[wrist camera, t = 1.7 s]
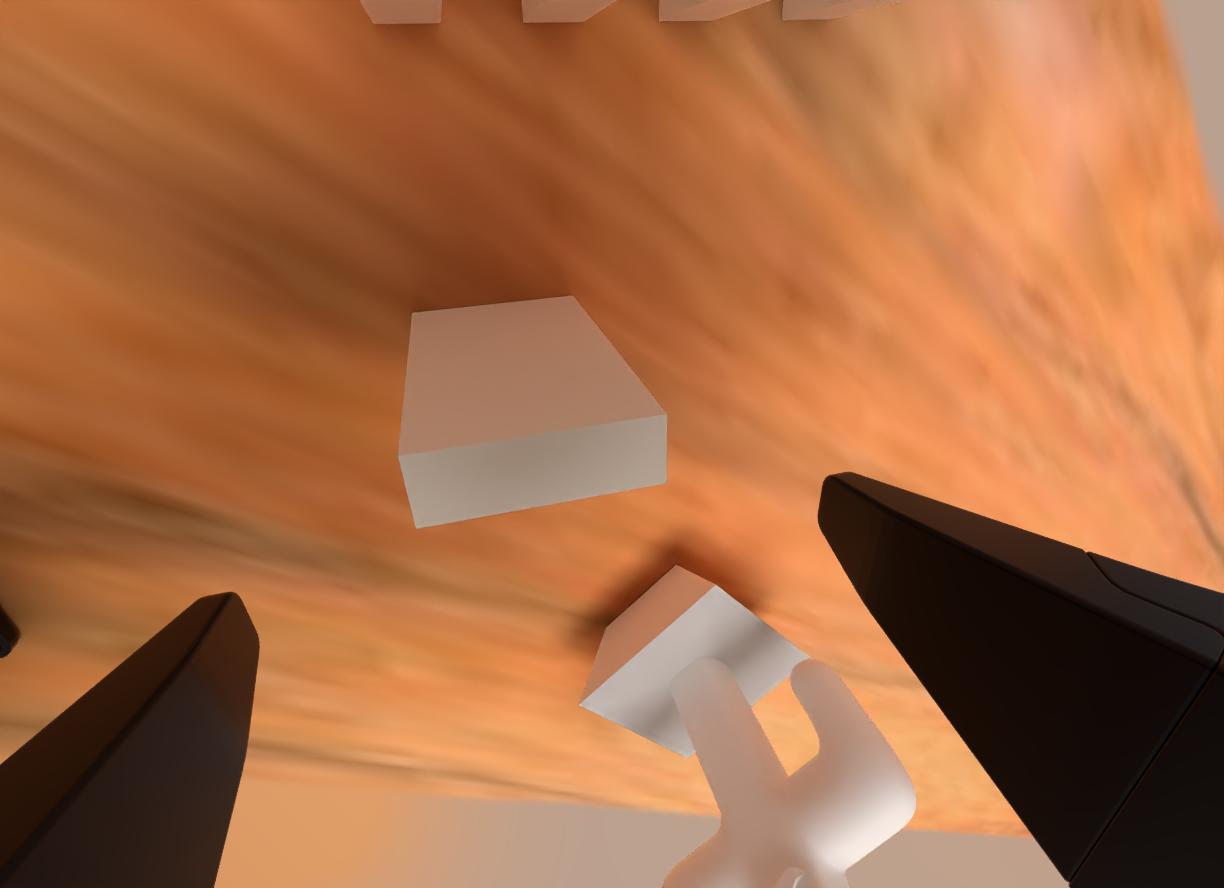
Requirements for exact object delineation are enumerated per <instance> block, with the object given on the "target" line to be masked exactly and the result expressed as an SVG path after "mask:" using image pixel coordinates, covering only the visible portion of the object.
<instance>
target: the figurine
mask: <svg viewBox="0 0 1224 888" xmlns="http://www.w3.org/2000/svg"><path fill="white" fill-rule="evenodd" d="M788 676H790V682H791V686H792V689H793V691H794V693H795V695H796V697H797V698H798V700H799V701H800V703H801V705H802V706H803V708H804V709H805V711H806V713H807V714H808V716H809V718H810V720H811V721H812V723H813V725H814V727H815V730H816V732H817V735H818V738H819V744H820V748H819V752H818V754H817V755H816V756H815V757H814V758H813V759H811V760H810V761H809V762H808V763H806V764H805V765H804V766H803V767H801V768H800V769H799V770H797V771H796V772H795V773H794V774H792V775H791V776H790V777H788V775H787V773H786V771H785V769H784V767H783V766H782V764H781V762H780V760H779V758H778V756H777V755H776V753H775V751H774V749H773V747H772V745H771V744H770V742H769V740H768V738H767V736H766V734H765V732H764V731H763V729H762V727H761V725H760V723H759V721H758V720H757V718H756V716H755V714H754V712H753V710H752V708H751V707H752V706H753V705H754V704H755V703H757V702H758V701H759V700H760V699H761V698H763V697H764V696H765V695H766V694H768V693H769V692H770V691H771V690H772V689H774V688H775V687H776V686H777V685H779V684H780V683H781V682H782V681H783V680H785V679H786V678H787V677H788ZM579 706H581V707H583V708H585V709H587V710H590V711H592V712H594V713H596V714H598V715H600V716H602V717H604V718H606V719H608V720H610V721H612V722H614V723H616V724H618V725H620V726H622V727H624V728H626V729H629V730H631V731H633V732H635V733H637V734H639V735H641V736H643V737H645V738H647V739H649V740H651V741H653V742H655V743H657V744H659V745H661V746H663V747H665V748H668V749H670V750H672V751H674V752H676V753H678V754H680V755H682V756H684V757H686V758H689V757H691V756H692V755H693V754H694V753H695V752H696V754H697V756H698V759H699V761H700V764H701V766H702V768H703V771H704V773H705V776H706V778H707V780H708V783H709V785H710V788H711V790H712V792H713V795H714V797H715V800H716V802H717V804H718V807H719V809H720V812H721V826H720V828H719V830H718V832H717V833H716V834H715V835H714V836H713V837H712V838H711V839H709V840H708V841H707V842H706V843H704V844H703V845H702V846H700V847H699V848H698V849H696V850H695V851H694V852H693V853H691V854H690V855H689V856H687V857H686V858H685V859H684V860H682V861H681V862H680V863H679V864H678V865H676V866H675V868H673V869H672V871H670V873H669V874H668V875H667V877H666V879H665V881H664V884H663V887H662V888H849V885H848V882H847V879H846V873H845V870H846V869H848V868H849V867H850V866H852V865H853V864H854V863H856V862H857V861H859V860H860V859H861V858H863V857H864V856H865V855H867V854H868V853H869V852H871V851H872V850H874V849H875V848H876V847H878V846H879V845H880V844H882V843H883V842H884V841H886V840H887V839H888V838H890V837H891V836H893V835H894V834H895V833H897V832H898V831H899V830H901V829H902V828H903V827H904V826H905V825H906V824H907V823H908V822H909V821H910V820H911V818H912V816H913V814H914V812H915V809H916V794H915V790H914V787H913V784H912V782H911V779H910V777H909V775H908V773H907V771H906V770H905V768H904V766H903V765H902V763H901V761H900V760H899V758H898V757H897V755H896V753H895V752H894V750H893V749H892V748H891V746H890V745H889V743H888V742H887V740H886V739H885V737H884V736H883V735H882V733H881V732H880V731H879V729H878V728H877V726H876V725H875V724H874V722H873V721H872V720H871V718H870V717H869V715H868V714H867V713H866V711H865V710H864V709H863V707H862V706H861V705H860V703H859V702H858V700H857V699H856V698H855V696H854V695H853V694H852V692H851V691H850V690H849V688H848V687H847V685H846V684H845V683H844V681H843V680H842V679H841V677H840V676H839V675H838V674H837V672H836V671H835V670H834V669H833V668H832V667H831V666H829V665H828V664H826V663H825V662H823V661H820V660H816V659H810V657H809V656H807V655H806V654H805V653H804V652H802V651H801V650H800V649H798V648H797V647H796V646H795V645H793V644H792V643H791V642H789V641H788V640H787V639H786V638H784V637H783V636H782V635H780V634H779V633H778V632H777V631H775V630H774V629H773V628H771V627H770V626H769V625H767V624H766V623H765V622H764V621H762V620H761V619H760V618H758V617H757V616H756V615H755V614H753V613H752V612H751V611H749V610H748V609H747V608H746V607H744V606H743V605H742V604H740V603H739V602H738V601H736V600H735V599H734V598H733V597H731V596H730V595H729V594H727V593H726V592H725V591H724V590H722V589H721V588H720V587H718V586H717V585H716V584H714V583H712V582H710V581H708V580H706V579H704V578H702V577H700V576H698V575H696V574H694V573H692V572H690V571H688V570H686V569H684V568H682V567H680V566H678V565H675V566H674V567H673V568H672V569H671V570H670V571H669V572H667V573H666V574H665V575H664V576H663V577H662V578H661V579H660V580H658V581H657V582H656V583H655V584H654V585H653V586H652V587H651V588H650V589H648V590H647V591H646V592H645V593H644V594H643V595H642V596H641V597H639V598H638V599H637V600H636V601H635V602H634V603H633V604H632V605H631V606H629V607H628V608H627V609H626V610H625V611H624V612H623V613H622V614H620V615H619V616H618V617H617V618H616V619H615V620H614V621H613V622H612V623H610V624H609V625H608V626H607V627H606V629H605V632H604V635H603V637H602V640H601V643H600V646H599V649H598V652H597V654H596V657H595V660H594V663H593V666H592V668H591V671H590V674H589V677H588V680H587V683H586V685H585V688H584V691H583V694H582V697H581V700H580V702H579Z"/></svg>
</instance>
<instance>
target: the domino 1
mask: <svg viewBox="0 0 1224 888" xmlns="http://www.w3.org/2000/svg"><path fill="white" fill-rule="evenodd" d="M615 1H617V0H521V2H522V13H523V23H539V22H584V21H586V20H587V19H589V18H591V17H592V16H594V15H595V14H597V13H598V12H600V11H601V10H603V9H605V8H606V7H608V6H609V5H611V4H612V3H614V2H615Z"/></svg>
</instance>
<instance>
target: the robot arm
mask: <svg viewBox="0 0 1224 888" xmlns="http://www.w3.org/2000/svg"><path fill="white" fill-rule="evenodd" d="M818 523H819V527H820V529H821V531H822V533H823V535H824V536H825V538H826V540H827V542H828V543H829V545H830V547H831V549H832V550H833V552H834V554H835V555H836V557H837V559H838V561H839V562H840V564H841V566H842V567H843V569H844V571H845V573H846V574H847V576H848V578H849V580H850V581H851V583H852V585H853V586H854V588H855V590H856V592H857V593H858V595H859V596H860V598H861V599H862V601H863V603H864V604H865V606H866V607H867V609H868V610H869V611H870V613H871V614H872V616H873V617H874V619H875V620H876V621H877V623H878V624H879V625H880V627H881V628H882V630H883V631H884V632H885V634H886V635H887V636H888V638H889V639H890V641H891V642H892V643H893V645H894V646H895V647H896V649H897V650H898V651H899V653H900V654H901V656H902V657H903V658H904V660H905V661H906V662H907V664H908V665H909V667H910V668H911V669H912V671H913V672H914V673H915V675H916V676H917V678H918V679H919V680H920V682H921V683H922V684H923V686H924V687H925V689H926V690H927V691H928V693H929V694H930V695H931V697H932V698H933V700H934V701H935V702H936V704H937V705H938V706H939V708H940V709H941V711H942V712H943V713H944V715H945V716H946V717H947V719H948V720H949V722H950V723H951V724H952V726H953V727H954V728H955V730H956V731H957V733H958V734H959V735H960V737H961V738H962V739H963V741H964V742H965V744H966V745H967V746H968V748H969V749H970V750H971V752H972V753H973V755H974V756H975V757H976V759H977V760H978V761H979V763H980V764H981V766H982V767H983V768H984V770H985V771H986V772H987V774H988V775H989V777H990V778H991V779H992V781H993V782H994V783H995V785H996V786H997V788H998V789H999V790H1000V792H1001V793H1002V794H1003V796H1004V797H1005V799H1006V800H1007V801H1008V803H1009V804H1010V805H1011V807H1012V808H1013V810H1014V811H1015V812H1016V814H1017V815H1018V816H1019V818H1020V819H1021V820H1022V822H1023V823H1024V825H1025V826H1026V827H1027V829H1028V830H1029V831H1030V833H1031V834H1032V836H1033V837H1034V838H1035V840H1036V841H1037V842H1038V844H1039V845H1040V847H1041V848H1042V849H1043V850H1044V852H1045V853H1046V855H1047V856H1048V857H1049V859H1050V860H1051V862H1052V863H1053V864H1054V866H1055V867H1056V869H1057V870H1058V871H1059V873H1060V874H1061V875H1062V877H1063V878H1064V880H1066V881H1067V882H1069V887H1070V888H1224V593H1220V592H1217V591H1214V590H1210V589H1207V588H1203V587H1200V586H1197V585H1193V584H1190V583H1187V582H1183V581H1180V580H1177V579H1173V578H1170V577H1166V576H1163V575H1160V574H1157V573H1154V572H1151V571H1148V570H1144V569H1141V568H1138V567H1135V566H1132V565H1129V564H1126V563H1123V562H1120V561H1117V560H1114V559H1111V558H1108V557H1105V556H1102V555H1099V554H1096V553H1093V552H1085V551H1084V550H1083V549H1080V548H1077V547H1074V546H1071V545H1068V544H1065V543H1062V542H1059V541H1056V540H1053V539H1050V538H1047V537H1044V536H1041V535H1038V534H1035V533H1032V532H1029V531H1026V530H1023V529H1021V528H1018V527H1015V526H1012V525H1009V524H1006V523H1003V522H1000V521H997V520H994V519H991V518H988V517H985V516H982V515H979V514H976V513H973V512H970V511H967V510H964V509H961V508H958V507H955V506H952V505H949V504H946V503H943V502H940V501H937V500H934V499H931V498H928V497H925V496H922V495H919V494H916V493H913V492H910V491H907V490H904V489H901V488H898V487H895V486H892V485H889V484H886V483H883V482H880V481H877V480H874V479H871V478H868V477H865V476H862V475H859V474H856V473H853V472H843V473H838V474H833V475H829V476H827V477H826V478H825V480H824V481H823V485H822V491H821V497H820V503H819V510H818ZM17 643H18V637H17V635H16V633H15V632H14V631H13V629H12V628H11V627H10V625H9V624H8V623H7V621H6V620H5V619H4V617H3V616H2V615H1V613H0V658H3V657H5V656H7V655H8V654H9V653H10V652H11V651H12V650H13V648H14V647H15V646H16V645H17ZM259 650H260V644H259V637H258V634H257V631H256V629H255V627H254V625H253V623H252V621H251V619H250V616H249V614H248V612H247V610H246V608H245V606H244V604H243V602H242V600H241V598H240V597H239V595H238V594H237V593H234V592H225V593H220V594H215V595H210V596H205V597H202V598H200V599H198V600H197V601H195V602H194V603H193V604H192V605H191V606H189V607H188V608H187V609H186V610H185V611H183V612H182V613H181V614H180V615H179V616H177V617H176V618H175V619H174V620H173V621H171V622H170V623H169V624H168V625H167V626H165V627H164V628H163V629H162V630H161V631H160V632H158V633H157V634H156V635H155V636H154V637H152V638H151V639H150V640H149V641H148V642H146V643H145V644H144V645H143V646H142V647H140V648H139V649H138V650H137V651H136V652H134V653H133V654H132V655H131V656H130V657H128V658H127V659H126V660H125V661H124V662H122V663H121V664H120V665H119V666H118V667H117V668H115V669H114V670H113V671H112V672H111V673H109V674H108V675H107V676H106V677H105V678H103V679H102V680H101V681H100V682H99V683H97V684H96V685H95V686H94V687H93V688H91V689H90V690H89V691H88V692H87V693H85V694H84V695H83V696H82V697H81V698H79V699H78V700H77V701H76V702H75V703H73V704H72V705H71V706H70V707H69V708H68V709H66V710H65V711H64V712H63V713H62V714H60V715H59V716H58V717H57V718H56V719H54V720H53V721H52V722H51V723H50V724H48V725H47V726H46V727H45V728H44V729H42V730H41V731H40V732H39V733H38V734H36V735H35V736H34V737H33V738H32V739H30V740H29V741H28V742H27V743H26V744H24V745H23V746H22V747H21V748H20V749H18V750H17V751H16V752H15V753H14V754H13V755H11V756H10V757H9V758H8V759H7V760H5V761H4V762H3V763H2V764H1V765H0V888H214V885H215V881H216V877H217V873H218V869H219V865H220V861H221V856H222V853H223V849H224V845H225V840H226V836H227V832H228V828H229V824H230V820H231V816H232V812H233V808H234V804H235V800H236V796H237V792H238V788H239V784H240V780H241V776H242V771H243V767H244V762H245V758H246V752H247V746H248V739H249V731H250V723H251V715H252V707H253V699H254V691H255V683H256V675H257V667H258V659H259Z"/></svg>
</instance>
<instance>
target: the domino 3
mask: <svg viewBox="0 0 1224 888" xmlns="http://www.w3.org/2000/svg"><path fill="white" fill-rule="evenodd" d="M904 1H908V0H783V10H782V20H832V19H836V18H840V17H844V16H848V15H852V14H856V13H860V12H864V11H868V10H872V9H876V8H880V7H884V6H888V5H892V4H896V3H900V2H904Z"/></svg>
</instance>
